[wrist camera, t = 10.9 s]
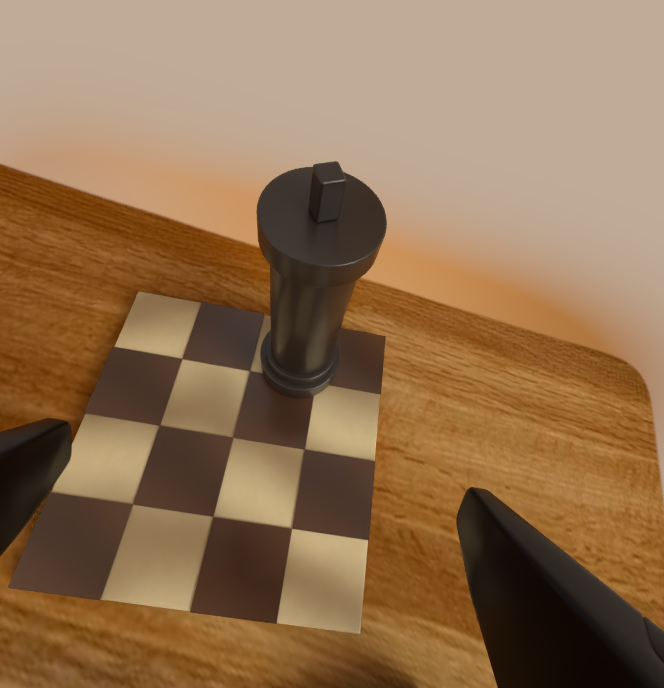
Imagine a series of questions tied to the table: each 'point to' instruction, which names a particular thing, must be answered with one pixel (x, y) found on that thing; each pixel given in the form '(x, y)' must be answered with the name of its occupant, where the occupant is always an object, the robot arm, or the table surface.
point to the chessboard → (215, 477)
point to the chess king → (313, 269)
